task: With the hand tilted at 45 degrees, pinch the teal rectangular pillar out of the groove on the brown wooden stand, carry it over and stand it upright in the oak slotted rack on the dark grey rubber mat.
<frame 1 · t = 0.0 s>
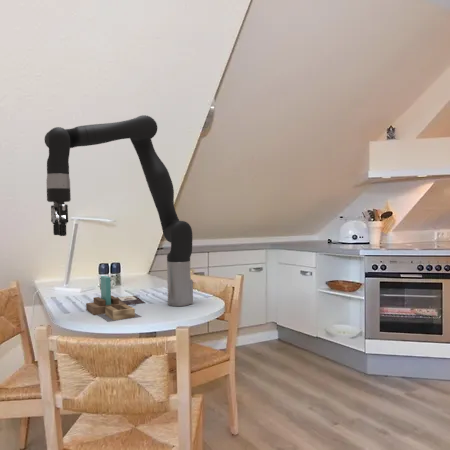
hand: (59, 235, 148), 29 cm above the table, tool pointing down, fingers open, 8 cm apart
rack: (119, 315, 153), resting on mat
chocolate bar: (129, 302, 181), on the table
teal rectangular pillar: (106, 303, 162), point 3 cm above the table, touching brown wooden stand
mat: (119, 316, 153), on the table
brown wooden stand: (106, 311, 162), on the table
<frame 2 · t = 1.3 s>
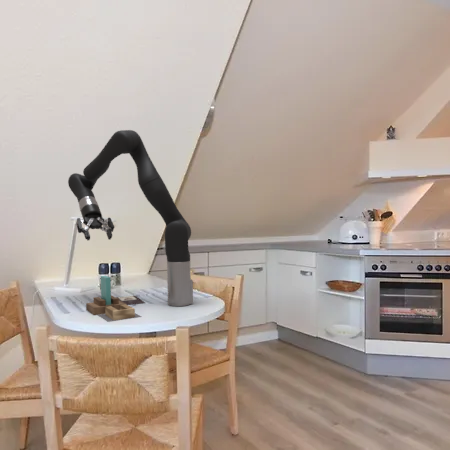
hand: (99, 238, 172), 27 cm above the table, tool tilted 45°, fingers open, 8 cm apart
nothing on the table moved.
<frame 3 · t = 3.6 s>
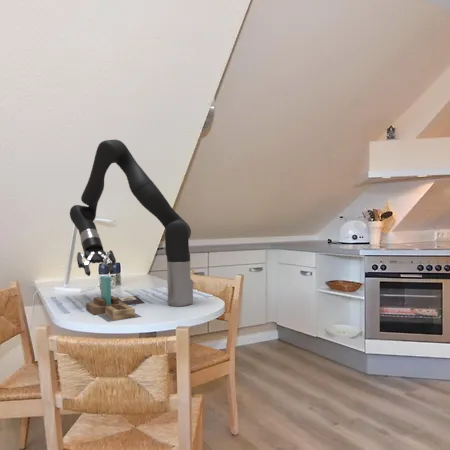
hand: (100, 273, 167), 13 cm above the table, tool tilted 45°, fingers open, 8 cm apart
nothing on the table moved.
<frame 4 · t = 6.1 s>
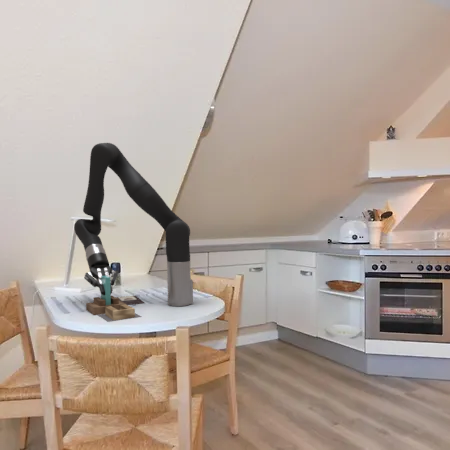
hand: (107, 293, 160), 7 cm above the table, tool tilted 45°, fingers closed on teal rectangular pillar
teal rectangular pillar: (105, 303, 162), point 3 cm above the table, touching gripper
everything else where it was.
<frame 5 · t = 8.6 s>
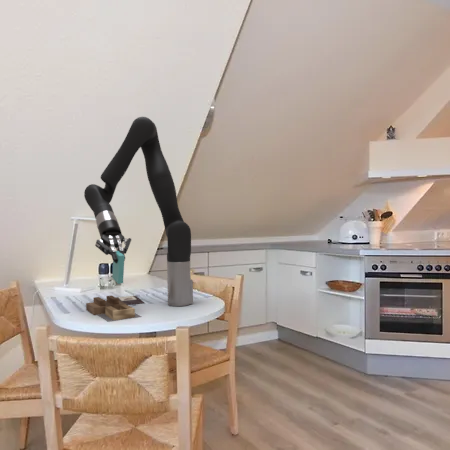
hand: (120, 261, 151), 20 cm above the table, tool tilted 45°, fingers closed on teal rectangular pillar, 1 cm apart
teal rectangular pillar: (117, 280, 154), point 13 cm above the table, tilted 12°, touching gripper
everything else where it was.
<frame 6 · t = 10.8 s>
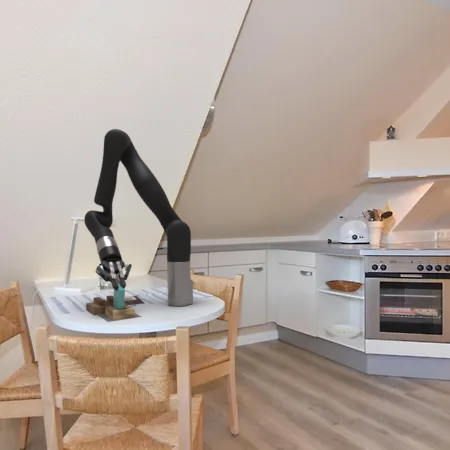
hand: (120, 288, 151), 10 cm above the table, tool tilted 45°, fingers closed on teal rectangular pillar, 2 cm apart
teal rectangular pillar: (118, 314, 153), point 1 cm above the table, tilted 10°, touching gripper, mat
everything else where it was.
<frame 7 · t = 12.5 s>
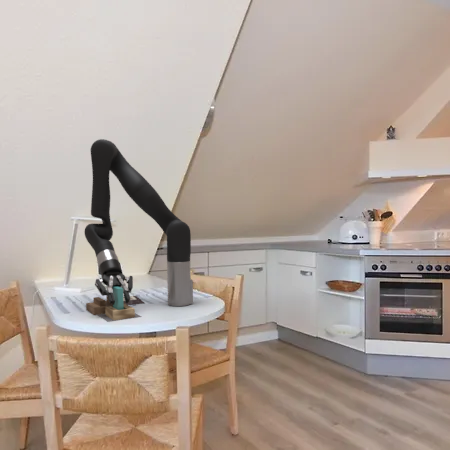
hand: (120, 302, 151), 6 cm above the table, tool tilted 45°, fingers open, 4 cm apart
teal rectangular pillar: (118, 315, 153), resting on mat
everything else where it was.
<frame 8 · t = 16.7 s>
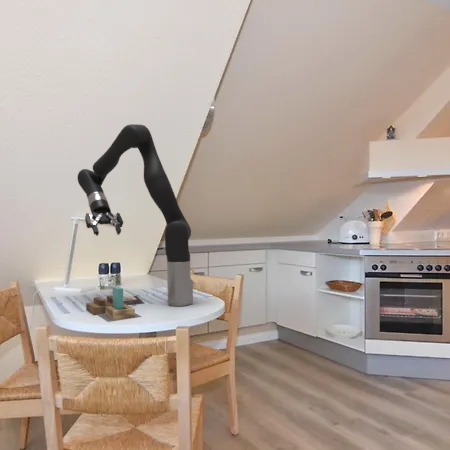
hand: (108, 233, 170), 29 cm above the table, tool tilted 45°, fingers open, 8 cm apart
nothing on the table moved.
at the end: teal rectangular pillar inside the target area on the rack (0.4 cm from its centre), point 0.0 cm above the rack's base; teal rectangular pillar tilted 0°; the gripper is holding nothing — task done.
